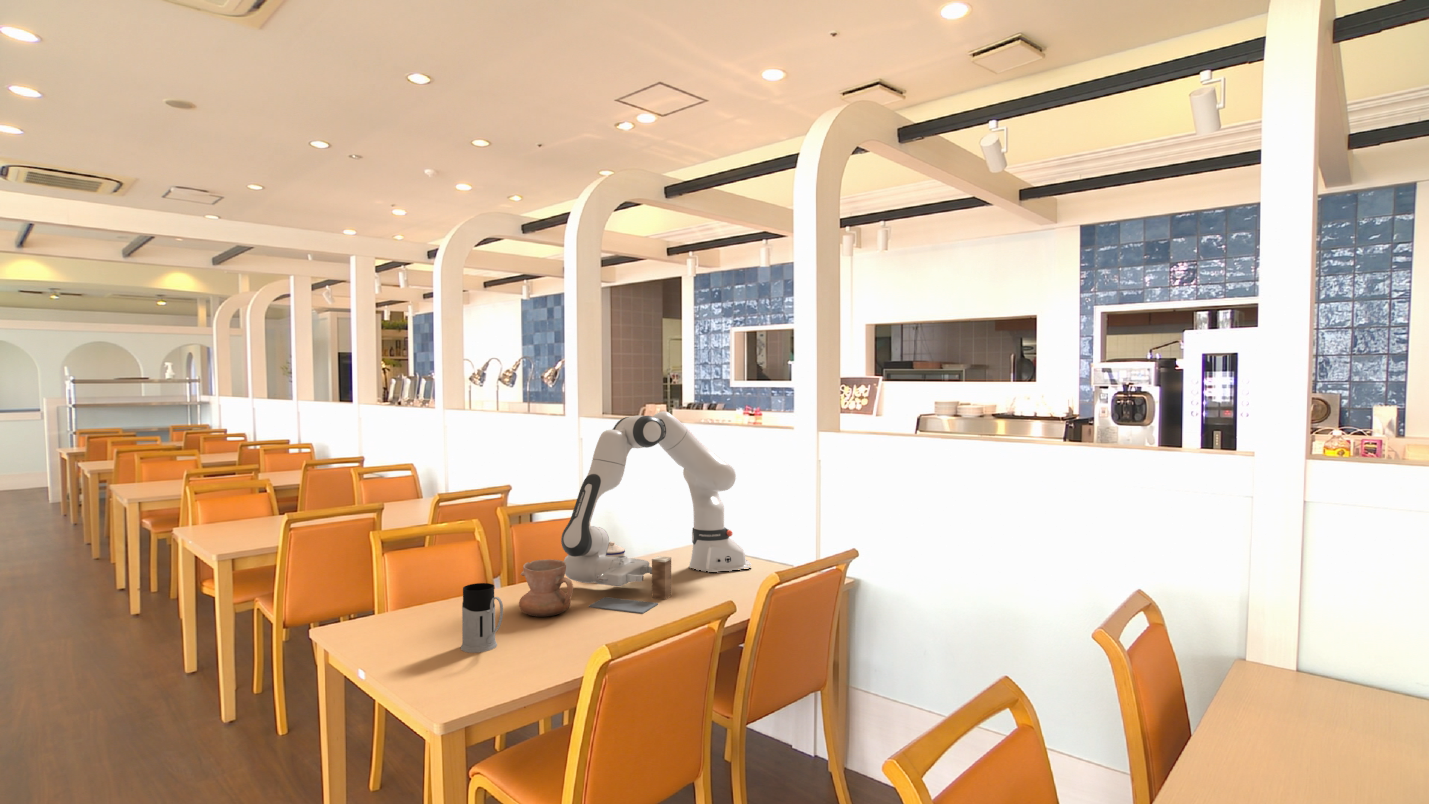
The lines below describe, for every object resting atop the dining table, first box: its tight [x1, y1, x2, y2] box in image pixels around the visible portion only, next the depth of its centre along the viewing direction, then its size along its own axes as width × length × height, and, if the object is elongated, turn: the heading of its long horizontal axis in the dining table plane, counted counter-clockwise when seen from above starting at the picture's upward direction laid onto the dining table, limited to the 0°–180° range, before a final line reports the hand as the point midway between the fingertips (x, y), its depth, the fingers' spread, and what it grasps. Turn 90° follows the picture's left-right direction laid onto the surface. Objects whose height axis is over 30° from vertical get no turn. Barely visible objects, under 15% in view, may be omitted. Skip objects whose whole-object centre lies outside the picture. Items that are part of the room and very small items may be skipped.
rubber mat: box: [588, 596, 659, 615], centre depth 224 cm, size 18×10×1 cm, turn 69°
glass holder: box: [460, 582, 504, 654], centre depth 187 cm, size 9×14×15 cm, turn 51°
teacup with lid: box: [606, 541, 626, 557], centre depth 261 cm, size 12×9×12 cm
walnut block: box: [651, 555, 672, 600], centre depth 233 cm, size 4×4×12 cm
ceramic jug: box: [518, 559, 574, 618], centre depth 216 cm, size 18×14×14 cm
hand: (649, 574), depth 235 cm, fingers open, 8 cm apart
